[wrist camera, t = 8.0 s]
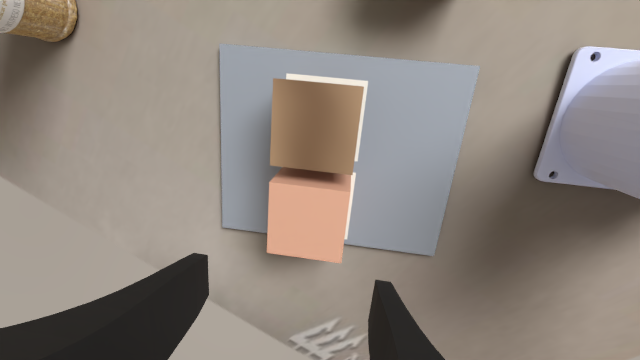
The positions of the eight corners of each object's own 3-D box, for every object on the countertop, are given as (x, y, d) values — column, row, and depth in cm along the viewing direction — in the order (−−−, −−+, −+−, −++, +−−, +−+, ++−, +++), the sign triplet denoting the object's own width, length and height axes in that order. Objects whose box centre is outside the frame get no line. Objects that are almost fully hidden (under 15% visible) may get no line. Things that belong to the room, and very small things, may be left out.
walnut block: (361, 86, 19) (364, 87, 14) (353, 156, 20) (352, 175, 16) (291, 79, 19) (272, 78, 15) (287, 148, 20) (269, 165, 16)
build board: (476, 66, 18) (480, 66, 18) (432, 252, 22) (434, 256, 22) (222, 44, 19) (219, 43, 19) (225, 224, 23) (222, 227, 23)
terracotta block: (351, 169, 20) (350, 192, 16) (343, 228, 22) (341, 263, 17) (286, 162, 21) (269, 182, 16) (283, 220, 22) (266, 252, 18)
